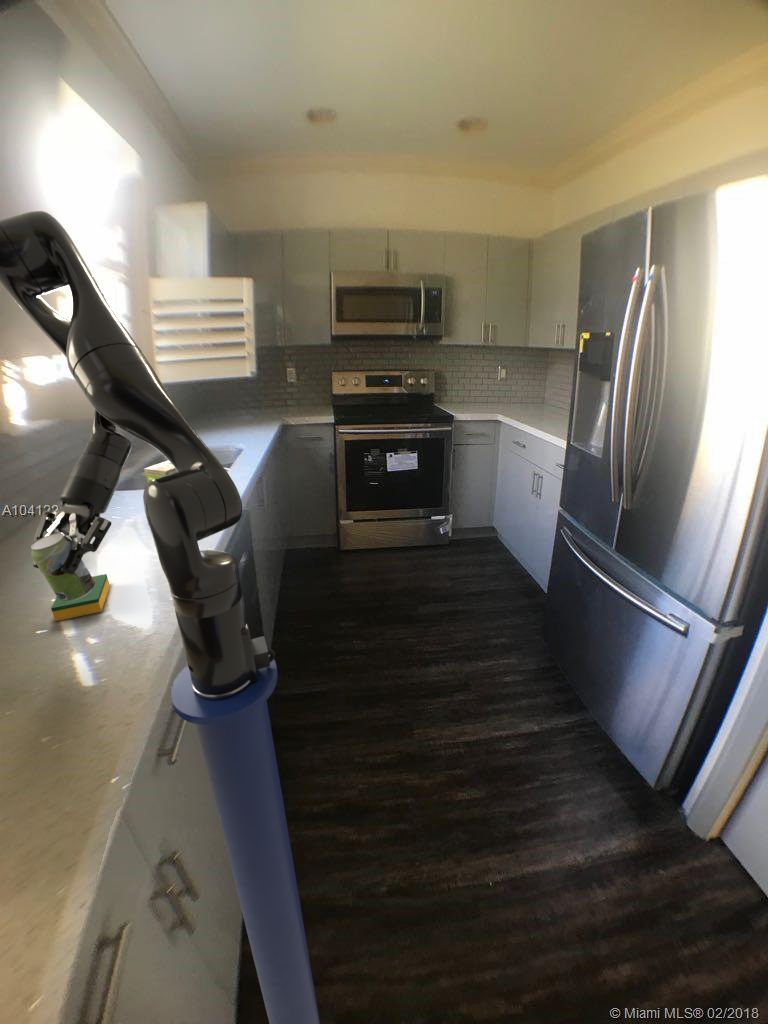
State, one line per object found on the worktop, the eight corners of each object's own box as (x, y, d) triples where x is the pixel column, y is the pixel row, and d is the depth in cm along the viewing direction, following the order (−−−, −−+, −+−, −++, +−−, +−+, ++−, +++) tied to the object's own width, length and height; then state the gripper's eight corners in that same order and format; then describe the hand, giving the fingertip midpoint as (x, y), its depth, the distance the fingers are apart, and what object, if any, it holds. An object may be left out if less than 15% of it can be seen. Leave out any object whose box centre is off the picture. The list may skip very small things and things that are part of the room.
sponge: (109, 585, 102) (106, 573, 101) (101, 611, 92) (97, 598, 91) (68, 593, 99) (64, 581, 98) (55, 621, 89) (50, 608, 88)
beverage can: (103, 591, 84) (84, 532, 79) (60, 612, 78) (37, 550, 74) (86, 582, 87) (67, 525, 83) (43, 601, 82) (20, 541, 77)
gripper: (46, 471, 84) (1, 559, 78) (107, 476, 80) (65, 569, 74) (79, 489, 90) (41, 571, 84) (138, 495, 86) (102, 581, 80)
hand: (52, 570), depth 79 cm, fingers closed on beverage can, 5 cm apart
